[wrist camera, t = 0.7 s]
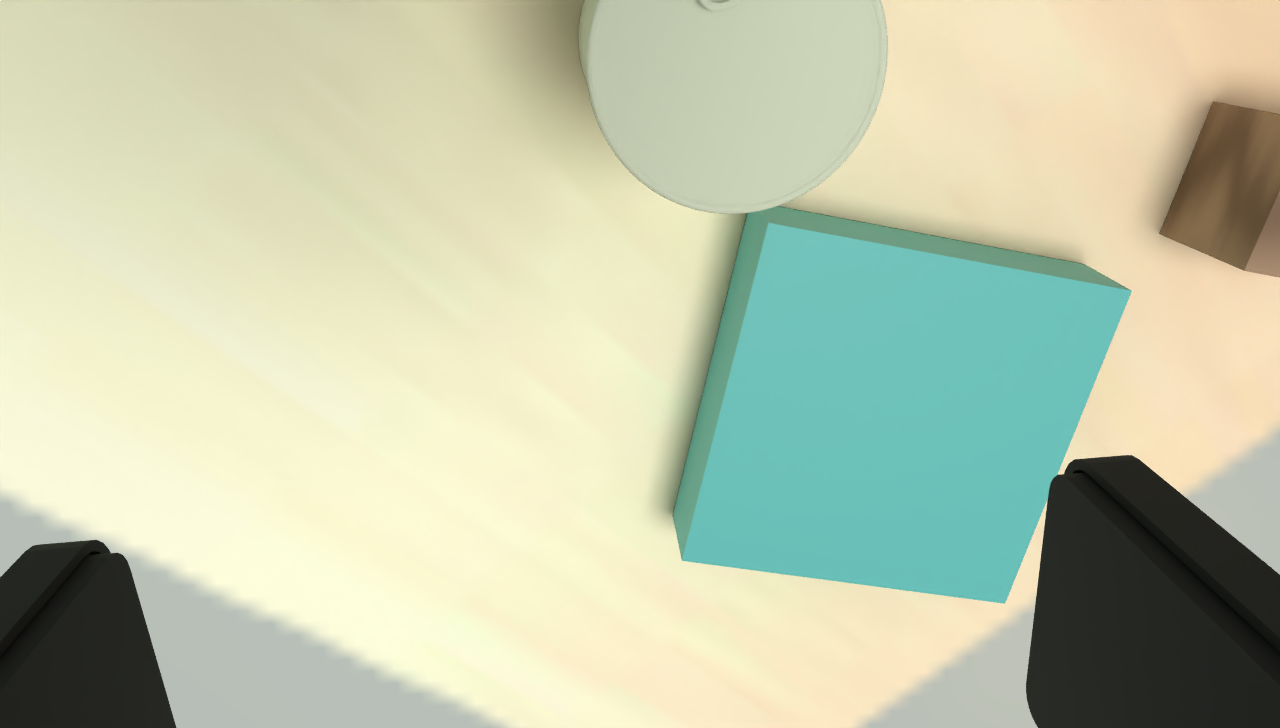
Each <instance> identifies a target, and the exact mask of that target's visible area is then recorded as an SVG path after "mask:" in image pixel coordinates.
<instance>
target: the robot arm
mask: <svg viewBox="0 0 1280 728" xmlns="http://www.w3.org/2000/svg"><path fill="white" fill-rule="evenodd" d="M1026 693H1027V701H1028V705H1029V709H1030V712H1031V715H1032V717H1033V719H1034V721H1035V723H1036V725H1037V727H1038V728H1280V575H1279V574H1278V573H1277V572H1276V571H1274V570H1273V569H1272V568H1271V567H1270V566H1268V565H1267V564H1266V563H1265V562H1264V561H1262V560H1261V559H1260V558H1259V557H1257V556H1256V555H1255V554H1254V553H1253V552H1251V551H1250V550H1249V549H1248V548H1246V547H1245V546H1244V545H1243V544H1242V543H1240V542H1239V541H1238V540H1237V539H1235V538H1234V537H1233V536H1232V535H1231V534H1229V533H1228V532H1227V531H1226V530H1225V529H1223V528H1222V527H1221V526H1220V525H1218V524H1217V523H1216V522H1215V521H1214V520H1212V519H1211V518H1210V517H1209V516H1207V515H1206V514H1205V513H1204V512H1203V511H1201V510H1200V509H1199V508H1198V507H1196V506H1195V505H1194V504H1193V503H1191V502H1190V501H1189V500H1188V499H1187V498H1185V497H1184V496H1183V495H1182V494H1181V493H1179V492H1178V491H1177V490H1176V489H1174V488H1173V487H1172V486H1171V485H1170V484H1168V483H1167V482H1166V481H1165V480H1163V479H1162V478H1161V477H1160V476H1159V475H1157V474H1156V473H1155V472H1154V471H1152V470H1151V469H1150V468H1149V467H1148V466H1146V465H1145V464H1144V463H1143V462H1142V461H1140V460H1139V459H1137V458H1135V457H1134V456H1132V455H1124V456H1112V457H1099V458H1087V459H1075V460H1073V461H1072V462H1070V463H1069V465H1068V466H1067V468H1066V470H1065V473H1064V474H1062V475H1057V476H1055V477H1054V478H1053V480H1052V481H1051V483H1050V488H1049V494H1048V502H1047V511H1046V519H1045V528H1044V536H1043V545H1042V553H1041V562H1040V570H1039V579H1038V587H1037V596H1036V605H1035V613H1034V622H1033V630H1032V639H1031V647H1030V657H1029V664H1028V674H1027V681H1026ZM0 728H176V725H175V722H174V719H173V715H172V711H171V708H170V704H169V701H168V698H167V694H166V691H165V687H164V684H163V680H162V677H161V673H160V670H159V667H158V663H157V660H156V656H155V653H154V649H153V646H152V642H151V639H150V635H149V632H148V629H147V625H146V622H145V618H144V615H143V611H142V608H141V604H140V601H139V598H138V594H137V591H136V587H135V584H134V580H133V577H132V573H131V570H130V567H129V564H128V562H127V560H126V559H125V557H124V556H123V555H121V554H119V553H110V551H109V549H108V548H107V547H106V546H105V544H104V543H102V542H100V541H98V540H89V541H77V542H65V543H55V544H54V543H53V544H42V545H35V546H32V547H31V548H29V549H28V550H27V551H25V552H24V553H23V554H22V555H21V557H20V558H19V559H18V560H17V561H16V562H15V563H14V564H13V565H12V566H11V567H10V568H9V569H8V570H7V571H6V572H5V573H4V574H3V575H2V576H1V577H0Z"/></svg>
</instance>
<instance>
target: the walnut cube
mask: <svg viewBox="0 0 1280 728" xmlns="http://www.w3.org/2000/svg"><path fill="white" fill-rule="evenodd" d="M1159 234H1161V235H1163V236H1165V237H1168V238H1170V239H1172V240H1175V241H1177V242H1179V243H1182V244H1184V245H1186V246H1189V247H1191V248H1193V249H1195V250H1198V251H1200V252H1202V253H1205V254H1207V255H1209V256H1212V257H1214V258H1216V259H1219V260H1221V261H1223V262H1226V263H1228V264H1230V265H1232V266H1235V267H1237V268H1239V269H1242V270H1244V271H1249V272H1254V273H1259V274H1264V275H1270V276H1275V277H1280V114H1275V113H1270V112H1265V111H1260V110H1255V109H1249V108H1244V107H1239V106H1234V105H1229V104H1224V103H1218V102H1213V103H1212V106H1211V108H1210V110H1209V113H1208V115H1207V118H1206V120H1205V123H1204V125H1203V128H1202V130H1201V133H1200V135H1199V137H1198V140H1197V142H1196V145H1195V147H1194V150H1193V152H1192V155H1191V157H1190V160H1189V162H1188V164H1187V167H1186V169H1185V172H1184V174H1183V177H1182V179H1181V182H1180V184H1179V187H1178V189H1177V192H1176V194H1175V196H1174V199H1173V201H1172V204H1171V206H1170V209H1169V211H1168V214H1167V216H1166V219H1165V221H1164V223H1163V226H1162V228H1161V231H1160V233H1159Z"/></svg>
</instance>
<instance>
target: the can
mask: <svg viewBox="0 0 1280 728" xmlns="http://www.w3.org/2000/svg"><path fill="white" fill-rule="evenodd" d="M579 52H580V60H581V65H582V69H583V73H584V76H585V79H586V82H587V84H588V89H589V94H590V99H591V104H592V107H593V110H594V114H595V117H596V119H597V122H598V124H599V127H600V129H601V131H602V133H603V135H604V137H605V138H606V140H607V142H608V144H609V146H610V147H611V149H612V150H613V152H614V153H615V155H616V156H617V157H618V159H619V160H620V161H621V162H622V164H623V165H624V166H625V167H626V168H627V169H628V170H629V171H630V172H631V173H632V174H633V175H634V176H635V177H636V178H637V179H638V180H639V181H641V182H642V183H643V184H644V185H646V186H647V187H648V188H650V189H651V190H653V191H654V192H656V193H658V194H659V195H661V196H663V197H664V198H666V199H669V200H671V201H673V202H675V203H677V204H680V205H683V206H685V207H689V208H692V209H695V210H700V211H705V212H711V213H721V214H739V213H750V212H756V211H761V210H765V209H769V208H772V207H776V206H779V205H782V204H785V203H787V202H790V201H792V200H794V199H796V198H798V197H800V196H802V195H803V194H805V193H807V192H808V191H810V190H811V189H813V188H815V187H816V186H818V185H819V184H820V183H822V182H823V181H824V180H825V179H827V178H828V177H829V176H830V175H831V174H832V173H833V172H834V171H835V170H837V169H838V168H839V167H840V166H841V165H842V163H843V162H844V161H845V160H846V159H847V158H848V157H849V155H850V154H851V153H852V152H853V150H854V149H855V147H856V146H857V145H858V143H859V142H860V140H861V139H862V137H863V135H864V134H865V132H866V130H867V129H868V126H869V124H870V122H871V120H872V118H873V116H874V114H875V112H876V109H877V106H878V103H879V100H880V97H881V94H882V90H883V86H884V81H885V75H886V68H887V56H888V38H887V26H886V20H885V15H884V10H883V6H882V3H881V0H584V3H583V7H582V12H581V17H580V24H579Z"/></svg>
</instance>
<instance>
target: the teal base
mask: <svg viewBox="0 0 1280 728" xmlns="http://www.w3.org/2000/svg"><path fill="white" fill-rule="evenodd" d="M1130 294H1131V290H1129V289H1128V288H1126V287H1124V286H1122V285H1120V284H1119V283H1117V282H1115V281H1113V280H1112V279H1110V278H1108V277H1106V276H1104V275H1103V274H1101V273H1099V272H1097V271H1095V270H1094V269H1092V268H1090V267H1088V266H1086V265H1085V264H1080V263H1075V262H1070V261H1064V260H1059V259H1054V258H1048V257H1043V256H1038V255H1033V254H1027V253H1022V252H1017V251H1012V250H1006V249H1001V248H996V247H991V246H985V245H980V244H975V243H969V242H964V241H959V240H954V239H948V238H943V237H938V236H933V235H927V234H922V233H917V232H911V231H906V230H901V229H896V228H890V227H885V226H880V225H875V224H869V223H864V222H859V221H854V220H848V219H843V218H838V217H832V216H827V215H822V214H817V213H811V212H806V211H801V210H796V209H790V208H785V207H780V206H776V207H772V208H769V209H765V210H761V211H756V212H750V213H747V217H746V221H745V225H744V229H743V233H742V237H741V241H740V245H739V249H738V253H737V257H736V261H735V265H734V269H733V273H732V277H731V281H730V285H729V289H728V293H727V298H726V302H725V306H724V310H723V314H722V318H721V322H720V326H719V330H718V334H717V338H716V342H715V346H714V350H713V354H712V358H711V362H710V366H709V370H708V374H707V379H706V383H705V387H704V391H703V395H702V399H701V403H700V407H699V411H698V415H697V419H696V423H695V427H694V431H693V435H692V439H691V443H690V447H689V451H688V455H687V460H686V464H685V468H684V472H683V476H682V480H681V484H680V488H679V492H678V496H677V500H676V504H675V508H674V512H673V519H674V524H675V529H676V533H677V538H678V543H679V548H680V553H681V558H682V561H689V562H696V563H704V564H711V565H719V566H726V567H734V568H741V569H749V570H756V571H764V572H771V573H779V574H786V575H794V576H801V577H809V578H817V579H824V580H832V581H839V582H847V583H854V584H862V585H869V586H877V587H884V588H892V589H899V590H907V591H914V592H922V593H929V594H937V595H944V596H952V597H959V598H967V599H975V600H982V601H990V602H997V603H1005V602H1006V600H1007V597H1008V595H1009V592H1010V590H1011V587H1012V585H1013V582H1014V580H1015V577H1016V575H1017V572H1018V570H1019V568H1020V565H1021V563H1022V560H1023V558H1024V555H1025V553H1026V550H1027V548H1028V545H1029V543H1030V540H1031V538H1032V535H1033V533H1034V531H1035V528H1036V526H1037V523H1038V521H1039V518H1040V516H1041V513H1042V511H1043V508H1044V506H1045V503H1046V501H1047V499H1048V494H1049V488H1050V483H1051V481H1052V480H1053V478H1054V477H1055V476H1057V474H1058V471H1059V469H1060V466H1061V464H1062V462H1063V459H1064V457H1065V454H1066V452H1067V449H1068V447H1069V444H1070V442H1071V439H1072V437H1073V434H1074V432H1075V429H1076V427H1077V425H1078V422H1079V420H1080V417H1081V415H1082V412H1083V410H1084V407H1085V405H1086V402H1087V400H1088V397H1089V395H1090V392H1091V390H1092V388H1093V385H1094V383H1095V380H1096V378H1097V375H1098V373H1099V370H1100V368H1101V365H1102V363H1103V360H1104V358H1105V355H1106V353H1107V351H1108V348H1109V346H1110V343H1111V341H1112V338H1113V336H1114V333H1115V331H1116V328H1117V326H1118V323H1119V321H1120V318H1121V316H1122V314H1123V311H1124V309H1125V306H1126V304H1127V301H1128V299H1129V296H1130Z"/></svg>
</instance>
